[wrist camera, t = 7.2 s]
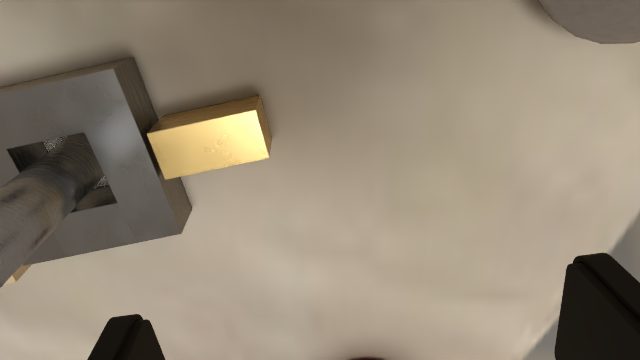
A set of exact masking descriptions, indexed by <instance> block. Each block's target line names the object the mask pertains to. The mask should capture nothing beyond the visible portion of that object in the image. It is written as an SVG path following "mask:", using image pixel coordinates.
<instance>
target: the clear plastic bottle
mask: <svg viewBox="0 0 640 360" xmlns="http://www.w3.org/2000/svg"><path fill="white" fill-rule="evenodd" d="M104 176H105V175H104V173H103V171H102V168H101V166H100V164H99V162H98V160H97V158H96V156H95V154H94V152H93V149H92V147H91V145H90V143H89V141H88V139H87V137H86V135H85V133H78V134H73V135H71V136H69V137H68V138H67V139H65V140H64V141H63V142H61V143H60V144H58V145H57V146H56V147H54V148H53V149H52V150H50V151H49V152H48V153H46V154H45V155H44V156H42V157H41V158H40V159H38V160H37V161H36V162H34V163H33V164H32V165H30V166H29V167H27V168H26V169H25V170H23V171H22V172H21V173H19V174H18V175H17V176H15V177H14V178H13V179H11V180H10V181H9V182H7V183H6V184H5V185H3V186H2V187H1V188H0V287H2V286H3V284H4V283H5V282H6V281H7V280H8V279H9V278H10V277H11V276H12V275H13V274H14V273H15V272H16V270H17V269H18V268H19V267H20V266H21V265H22V264H23V263H24V262H25V261H26V260H27V259H28V258H29V256H30V255H31V254H32V253H33V252H34V251H35V250H36V249H37V248H38V247H39V246H40V245H41V244H42V242H43V241H44V240H45V239H46V238H47V237H48V236H49V235H50V234H51V233H52V232H53V231H54V229H55V228H56V227H57V226H58V225H59V224H60V223H61V222H62V221H63V220H64V219H65V218H66V217H67V215H68V214H69V213H70V212H71V211H72V210H73V209H74V208H75V207H76V206H77V205H78V204H79V203H80V201H81V200H82V199H83V198H84V197H85V196H86V195H87V194H88V193H89V192H90V191H91V190H92V188H93V187H94V186H95V185H96V184H97V183H98V182H99V181H100V180H101V179H102V178H103V177H104Z"/></svg>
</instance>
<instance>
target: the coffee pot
mask: <svg viewBox="0 0 640 360" xmlns="http://www.w3.org/2000/svg"><path fill="white" fill-rule="evenodd" d="M538 1H539V2H540V4H541V5H542V6H543V8H544V9H545V11H546V12H547V13H548V15H549V16H550V17H551V19H552V20H553V21H555V22H556V23H557V24H559V25H560V26H562V27H563V28H565V29H566V30H567V31H569V32H570V33H572V34H573V35H575V36H576V37H580V38H583V39H587V40H590V41H593V42H597V43H600V44H620V43H636V42H639V41H640V0H538Z"/></svg>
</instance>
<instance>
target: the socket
mask: <svg viewBox="0 0 640 360" xmlns="http://www.w3.org/2000/svg"><path fill="white" fill-rule="evenodd" d="M157 122H158V119H157V117H156V114H155V112H154V109H153V107H152V104H151V101H150V99H149V96H148V94H147V91H146V89H145V86H144V83H143V81H142V78H141V76H140V73H139V71H138V68H137V65H136V63H135V60H134V58H129V59H124V60H120V61H115V62H111V63H107V64H102V65H98V66H93V67H89V68H84V69H80V70H76V71H71V72H67V73H62V74H58V75H54V76H49V77H45V78H40V79H36V80H31V81H27V82H23V83H18V84H14V85H9V86H5V87H0V188H1V187H2V186H3V185H5V184H6V183H7V182H9V181H10V180H11V179H13V178H14V177H15V176H17V175H18V174H19V173H21V172H22V171H23V170H25V169H26V168H27V167H29V166H30V165H32V164H33V163H34V162H36V161H37V160H38V159H40V158H41V157H42V156H44V155H45V154H46V153H48V152H47V150H46V148H45V147H44V145H43V143H42V141H46V140H50V139H55V138H59V137H64V136H69V135H73V134H78V133H82V132H85V135H86V137H87V139H88V141H89V143H90V145H91V147H92V149H93V152H94V154H95V156H96V158H97V160H98V162H99V164H100V166H101V168H102V171H103V173H104V175H105V177H106V179H107V181H108V183H109V185H110V186H105V187H101V188H96V189H92V190H91V191H90V192H89V193H88V194H87V195H86V196H85V197H84V198H83V199H82V200H81V201H80V203H79V204H78V205H77V206H76V207H75V208H74V209H73V210H72V211H71V212H70V213H69V214H68V215H67V217H66V218H65V219H64V220H63V221H62V222H61V223H60V224H59V225H58V226H57V227H56V228H55V229H54V231H53V232H52V233H51V234H50V235H49V236H48V237H47V238H46V239H45V240H44V241H43V242H42V244H41V245H40V246H39V247H38V248H37V249H36V250H35V251H34V252H33V253H32V254H31V255H30V256H29V258H28V259H27V260H26V261H25V262H24V263H23V266H25V265H30V264H35V263H40V262H45V261H50V260H55V259H60V258H64V257H69V256H74V255H79V254H84V253H89V252H94V251H99V250H104V249H109V248H114V247H118V246H123V245H128V244H133V243H138V242H143V241H148V240H153V239H158V238H163V237H167V236H172V235H177V234H181V233H182V231H183V229H184V227H185V224H186V222H187V220H188V217H189V215H190V213H191V211H192V207H191V204H190V202H189V199H188V197H187V194H186V192H185V189H184V186H183V184H182V181H181V179H180V177H176V178H171V179H166V180H165V178H164V175H163V173H162V170H161V168H160V165H159V163H158V161H157V158H156V156H155V153H154V151H153V148H152V146H151V143H150V141H149V138H148V136H147V133H148V132H149V131H150V129H151V128H152V127H153V126H154V125H155V124H156V123H157Z"/></svg>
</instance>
